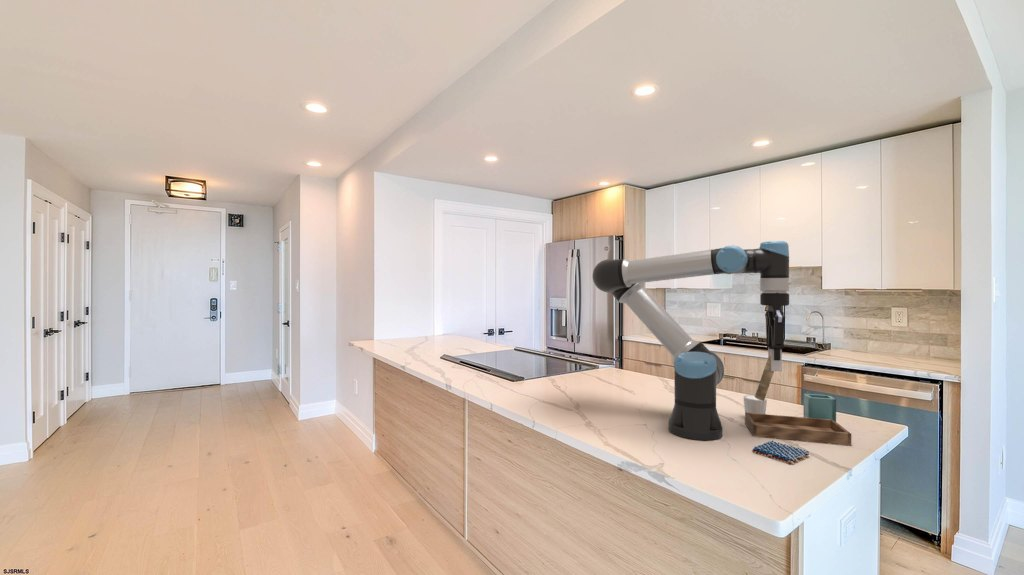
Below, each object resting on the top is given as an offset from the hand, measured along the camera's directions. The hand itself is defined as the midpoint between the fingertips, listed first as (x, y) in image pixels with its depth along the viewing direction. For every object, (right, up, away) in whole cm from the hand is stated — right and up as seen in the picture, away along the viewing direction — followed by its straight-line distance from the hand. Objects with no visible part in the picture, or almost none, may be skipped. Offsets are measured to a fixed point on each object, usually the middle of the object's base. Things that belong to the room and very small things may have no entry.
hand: (774, 369), depth 133 cm
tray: (+5, -19, -2) cm, 19 cm away
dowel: (-2, 0, +1) cm, 2 cm away
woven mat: (-9, -20, -18) cm, 28 cm away
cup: (+18, -19, +7) cm, 27 cm away
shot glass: (+1, -19, +13) cm, 23 cm away
